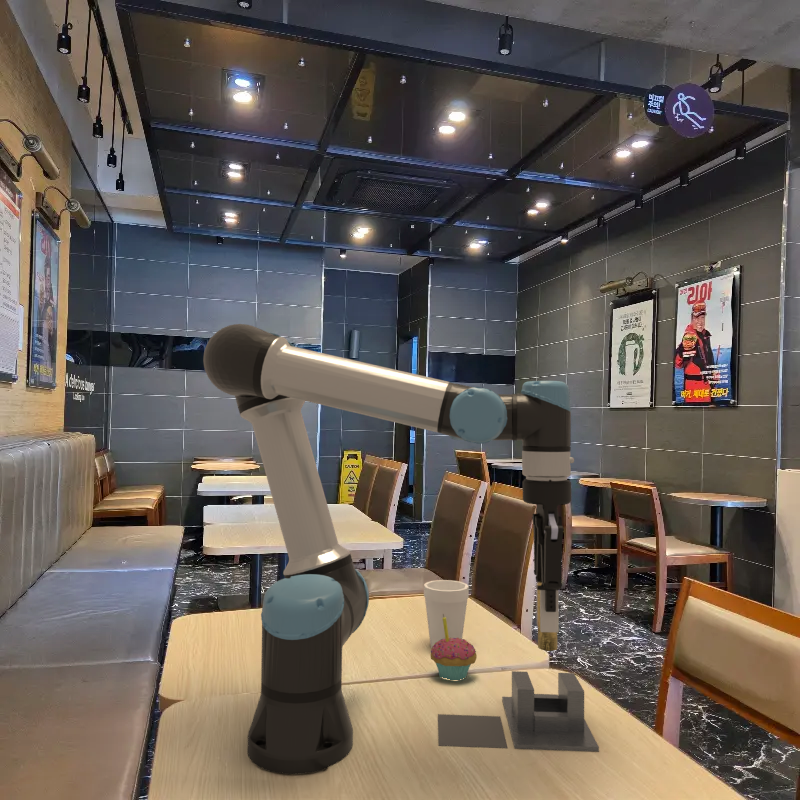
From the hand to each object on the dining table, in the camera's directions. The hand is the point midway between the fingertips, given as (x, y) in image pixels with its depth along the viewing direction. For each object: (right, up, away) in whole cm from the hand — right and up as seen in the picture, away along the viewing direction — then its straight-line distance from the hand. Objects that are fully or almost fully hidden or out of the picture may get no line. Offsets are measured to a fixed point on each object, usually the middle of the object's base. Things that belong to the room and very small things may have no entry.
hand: (547, 627), depth 99 cm
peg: (0, -3, 0) cm, 3 cm away
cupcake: (-13, -16, +18) cm, 28 cm away
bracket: (0, -15, 0) cm, 15 cm away
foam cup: (-14, -17, +34) cm, 40 cm away
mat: (-12, -15, -3) cm, 20 cm away
